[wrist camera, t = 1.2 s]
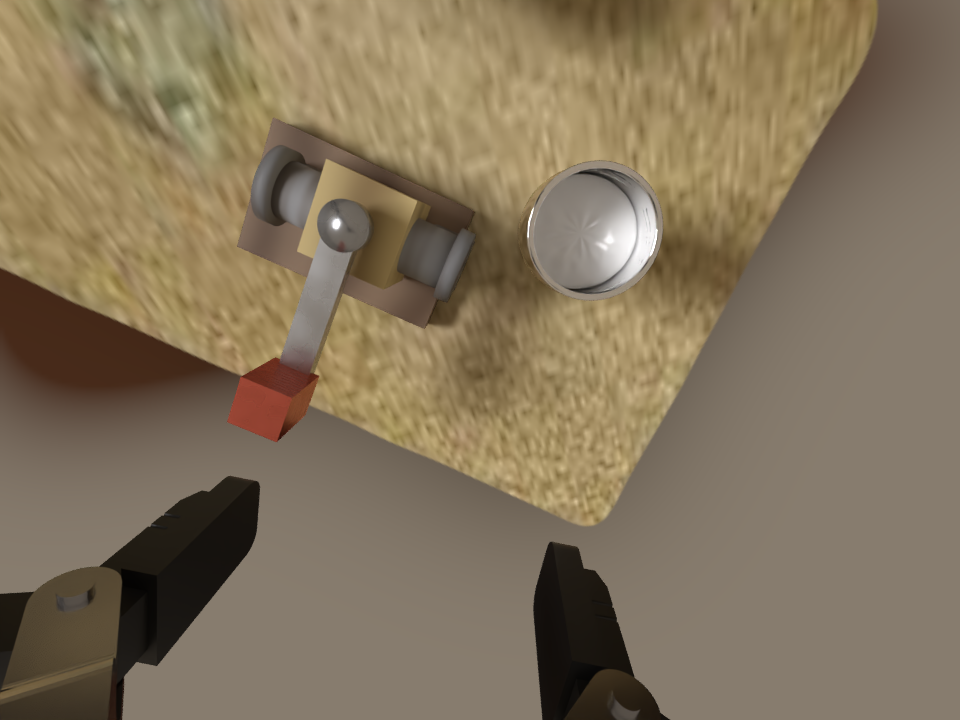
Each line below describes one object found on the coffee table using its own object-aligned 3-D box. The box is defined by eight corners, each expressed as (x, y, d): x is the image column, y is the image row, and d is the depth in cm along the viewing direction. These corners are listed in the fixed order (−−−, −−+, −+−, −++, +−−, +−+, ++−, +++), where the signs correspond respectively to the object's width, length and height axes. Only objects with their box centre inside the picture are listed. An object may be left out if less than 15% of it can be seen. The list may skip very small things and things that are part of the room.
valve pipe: (250, 245, 37) (170, 250, 28) (285, 123, 35) (209, 84, 25) (438, 328, 39) (420, 358, 29) (486, 217, 36) (482, 212, 27)
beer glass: (515, 185, 35) (527, 152, 21) (604, 188, 35) (679, 158, 21) (510, 275, 37) (518, 301, 23) (594, 278, 37) (657, 308, 22)
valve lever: (333, 191, 26) (300, 183, 22) (381, 213, 27) (357, 209, 22) (265, 400, 30) (225, 429, 26) (307, 417, 31) (274, 449, 26)
